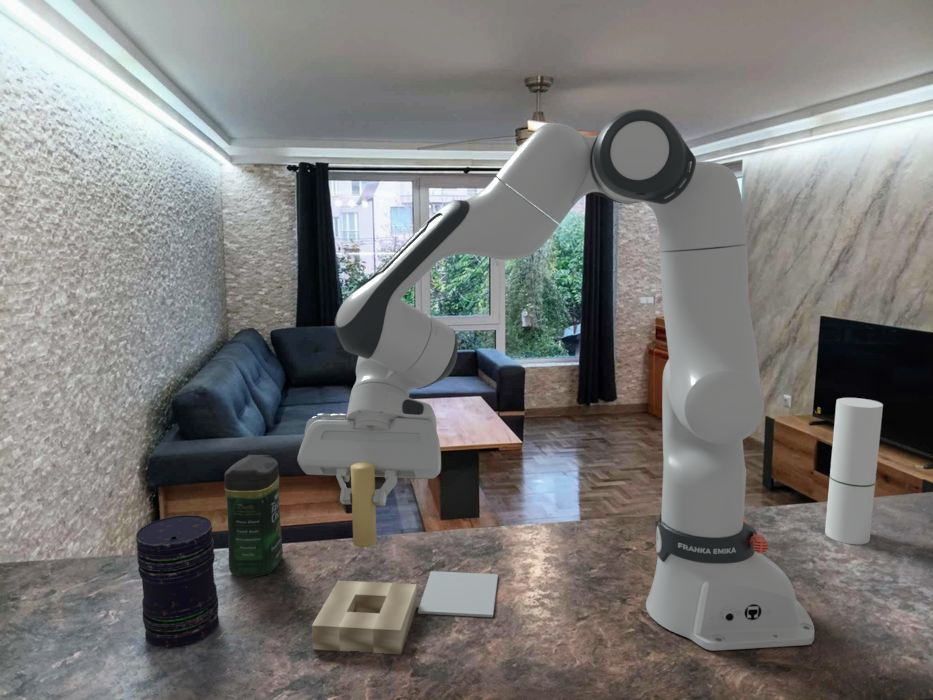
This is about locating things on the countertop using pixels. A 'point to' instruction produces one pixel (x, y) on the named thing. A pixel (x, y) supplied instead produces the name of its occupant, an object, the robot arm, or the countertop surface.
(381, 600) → the hole block
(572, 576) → the countertop surface
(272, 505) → the coffee jar
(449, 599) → the mat
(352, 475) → the peg
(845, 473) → the cylindrical container
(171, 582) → the dark blue cylinder
